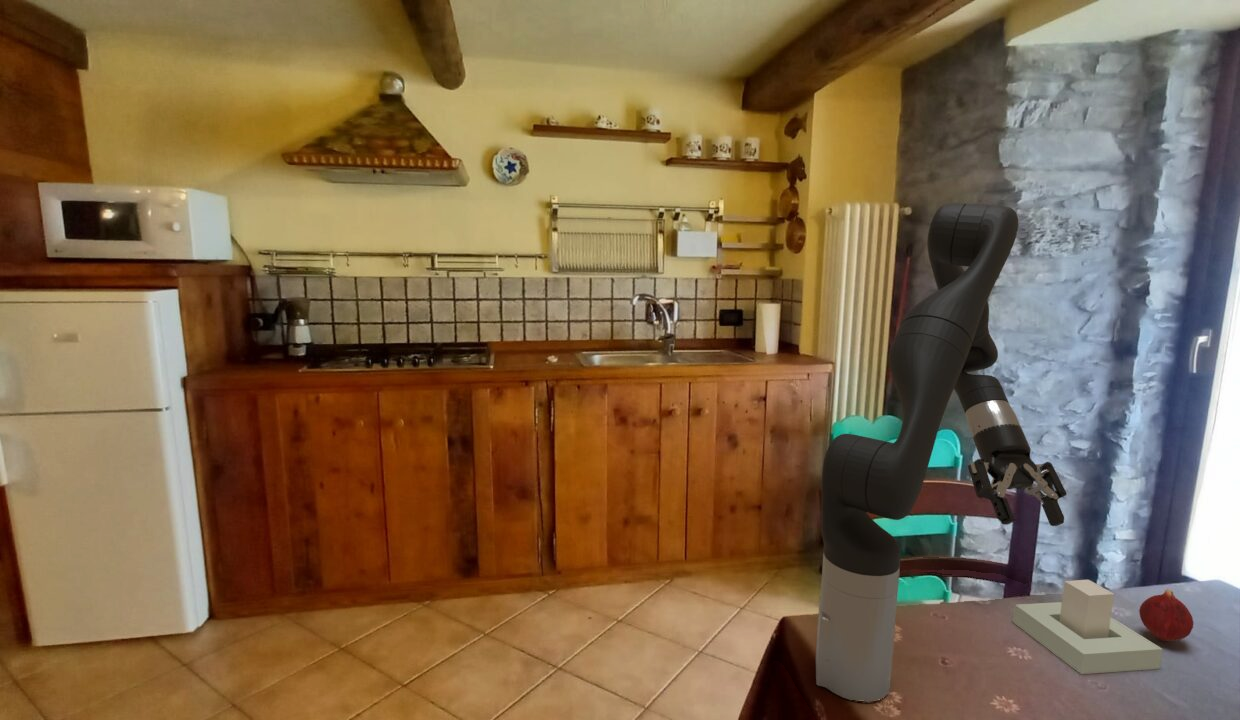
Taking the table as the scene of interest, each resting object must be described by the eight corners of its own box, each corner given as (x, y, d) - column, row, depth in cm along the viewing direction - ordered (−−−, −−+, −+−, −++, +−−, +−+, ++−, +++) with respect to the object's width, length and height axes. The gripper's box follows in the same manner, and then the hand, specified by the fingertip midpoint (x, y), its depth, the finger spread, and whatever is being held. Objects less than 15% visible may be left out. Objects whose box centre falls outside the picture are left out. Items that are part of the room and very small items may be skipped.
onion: (1200, 655, 83) (1208, 604, 82) (1153, 650, 84) (1161, 599, 83) (1170, 631, 89) (1178, 582, 87) (1127, 626, 90) (1134, 578, 89)
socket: (1081, 674, 79) (1083, 654, 78) (1013, 622, 91) (1014, 604, 90) (1159, 668, 80) (1162, 648, 80) (1082, 618, 92) (1084, 600, 91)
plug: (1081, 653, 83) (1089, 595, 82) (1057, 636, 87) (1064, 581, 86) (1106, 651, 84) (1114, 594, 82) (1081, 634, 88) (1088, 579, 86)
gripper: (971, 420, 97) (1008, 515, 88) (1049, 424, 98) (1092, 517, 90) (945, 439, 103) (977, 530, 94) (1018, 442, 105) (1056, 532, 96)
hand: (1033, 524), depth 92 cm, fingers open, 8 cm apart
